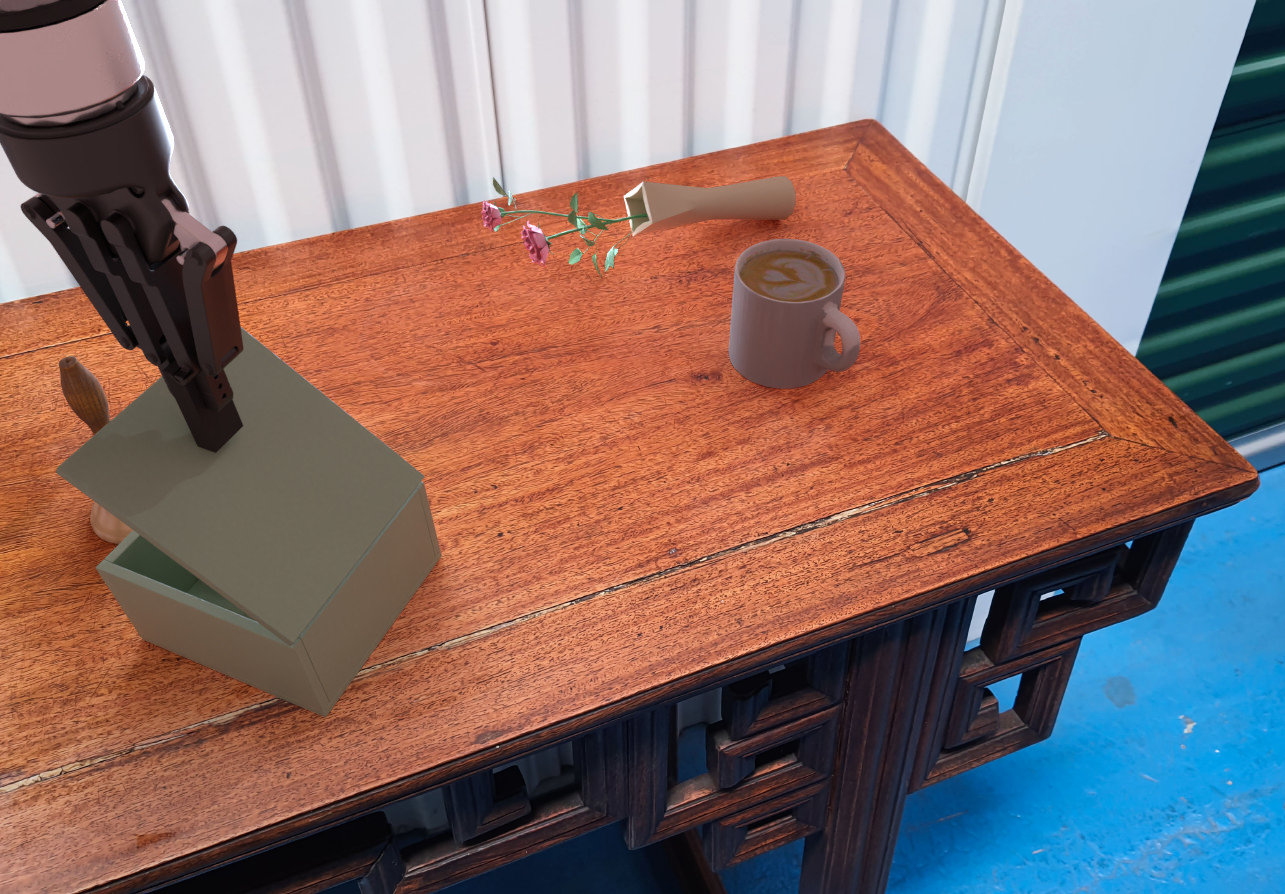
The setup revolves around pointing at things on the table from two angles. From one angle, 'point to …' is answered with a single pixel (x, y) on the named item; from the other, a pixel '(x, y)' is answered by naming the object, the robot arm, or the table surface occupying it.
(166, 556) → the chest
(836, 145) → the table surface
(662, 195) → the flower vase
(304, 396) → the chest lid
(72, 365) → the hand bell
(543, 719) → the table surface
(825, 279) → the coffee mug
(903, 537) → the table surface
